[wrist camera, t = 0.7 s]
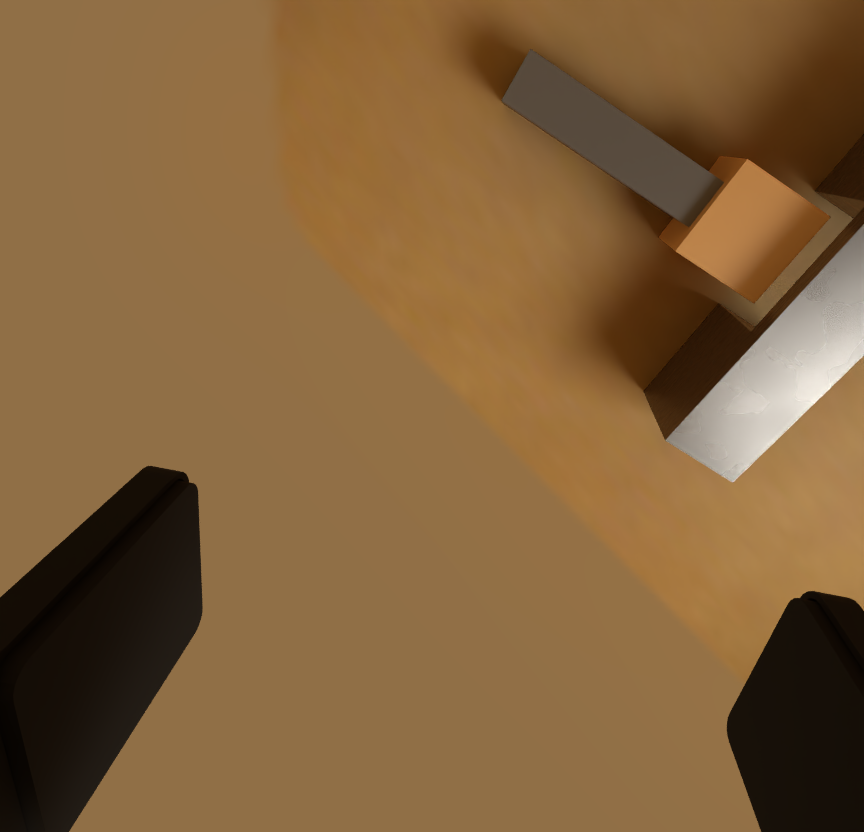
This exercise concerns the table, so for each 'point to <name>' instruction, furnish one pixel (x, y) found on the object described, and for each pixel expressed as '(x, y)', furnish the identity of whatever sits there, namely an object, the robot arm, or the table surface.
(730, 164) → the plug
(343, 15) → the table surface
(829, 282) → the grey long block
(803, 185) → the table surface
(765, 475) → the table surface
